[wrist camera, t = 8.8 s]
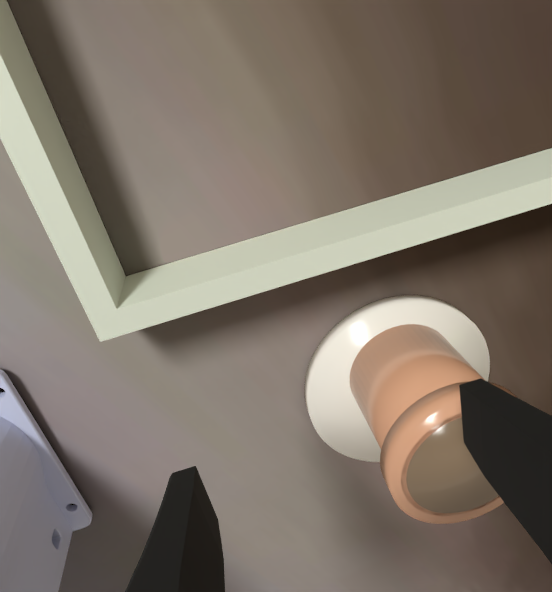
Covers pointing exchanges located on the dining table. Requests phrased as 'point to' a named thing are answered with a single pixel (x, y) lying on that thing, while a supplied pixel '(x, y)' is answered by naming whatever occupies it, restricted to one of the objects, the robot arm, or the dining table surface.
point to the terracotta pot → (421, 423)
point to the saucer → (346, 345)
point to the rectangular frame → (237, 257)
